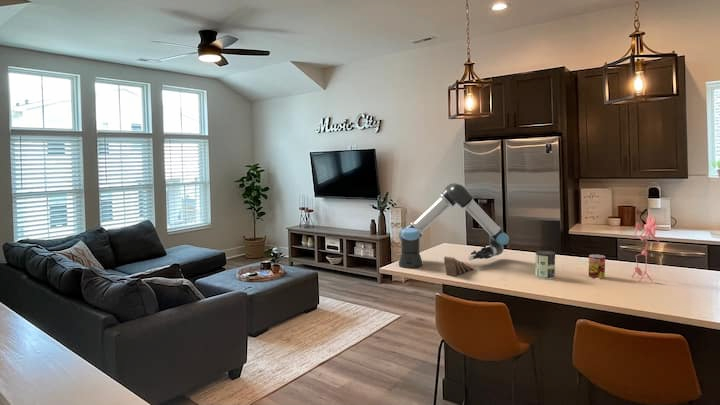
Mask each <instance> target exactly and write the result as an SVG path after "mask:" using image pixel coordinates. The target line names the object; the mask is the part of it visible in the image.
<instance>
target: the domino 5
mask: <svg viewBox="0 0 720 405" xmlns="http://www.w3.org/2000/svg"><path fill="white" fill-rule="evenodd" d="M459 261H460V260H459ZM460 262H463V263H464V264H465V265H467V266H468V267H469V268H470V270H475V268H476V267H475V266H474V265H472V264H470V263H468V262H466V261H460Z"/></svg>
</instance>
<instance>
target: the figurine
mask: <svg viewBox="0 0 720 405" xmlns="http://www.w3.org/2000/svg"><path fill="white" fill-rule="evenodd" d="M656 222H657V221H656V218H655V216H654V215H653V216H650V215H648V216H647V218H646V223H645V224H644V225H643V226H642V224H641V223H640V222H636V223H635V231H634V237H638V238H640V240H641V242H644V241H645V242H646V246H645V249H643V250H642V251H641V253H640V254H639V253H638V254H637V255H635V259H636V266H635V268H634V273H633V274H632V275H631V278H633V277H634V276H635V275H636V274H637V275H638V276H639V277H640V276H641V277H640V279H638V282H639V281H640V282H641V280H642V279H643V277H644V276H645V275H647V276H646V277H647V278H648V279H649V280H650V281H651V283H654V282H653V280H652V278H651V276H650V275H649V274H648V273H647V267H645V270H643V271H642V269H641V268H640V267H639V264H638V259H637V258H638V256H641V255H642V256H645V265H648V264H647V260H648V259H647V258H648V257H647V256H648V251H647V248H648V246H649V240H647V239H649V238H651V239H654V240H656V241H657V242H658V243H660V240H659V239H658V238H657V237H656V236H655V235H656V230H658V228H659V227H658V225H657V223H656ZM643 228H644V229H643ZM637 230H638V231H639V232H641V234H640V235H637ZM642 231H643V232H642ZM644 233H645V234H644ZM642 235H643V237H642ZM645 238H647V239H645Z"/></svg>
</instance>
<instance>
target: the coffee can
mask: <svg viewBox="0 0 720 405" xmlns="http://www.w3.org/2000/svg"><path fill="white" fill-rule="evenodd" d="M534 272H535V274H534V276H535V278H537V279H542V280H554V279H556V277H555V276H556V275H555V274H556V252H554V251H551V250H536V251H535V271H534Z"/></svg>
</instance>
